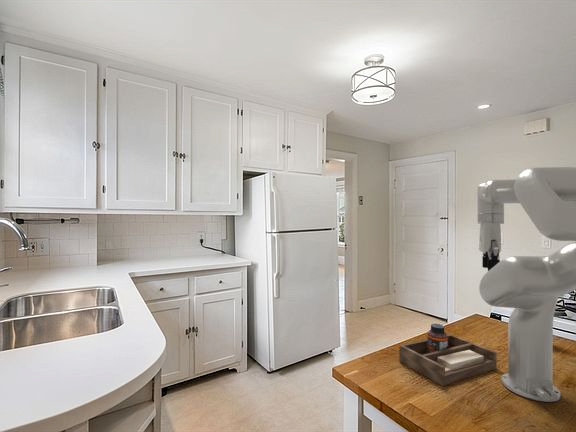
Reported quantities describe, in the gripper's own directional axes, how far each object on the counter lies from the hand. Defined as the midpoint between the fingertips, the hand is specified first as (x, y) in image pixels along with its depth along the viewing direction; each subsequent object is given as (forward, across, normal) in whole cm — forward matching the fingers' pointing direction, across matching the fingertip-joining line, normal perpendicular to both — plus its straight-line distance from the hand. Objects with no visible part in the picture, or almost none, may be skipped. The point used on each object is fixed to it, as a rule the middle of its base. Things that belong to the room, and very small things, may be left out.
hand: (490, 269), depth 102 cm
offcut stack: (+30, +15, -11) cm, 35 cm away
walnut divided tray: (+29, +13, -14) cm, 35 cm away
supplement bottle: (+30, +10, -17) cm, 35 cm away
